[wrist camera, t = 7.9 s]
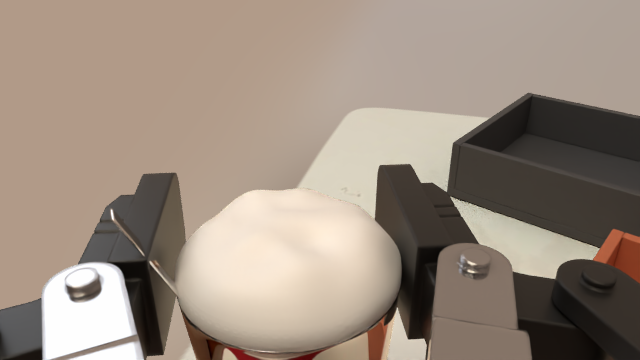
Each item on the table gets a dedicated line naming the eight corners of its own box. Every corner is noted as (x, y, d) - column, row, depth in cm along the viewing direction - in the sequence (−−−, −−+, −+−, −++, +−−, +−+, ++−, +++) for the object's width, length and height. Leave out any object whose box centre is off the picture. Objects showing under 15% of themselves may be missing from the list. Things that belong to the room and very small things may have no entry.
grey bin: (446, 194, 35) (452, 142, 33) (519, 136, 43) (528, 92, 41) (659, 268, 28) (680, 207, 26) (698, 182, 36) (716, 131, 34)
